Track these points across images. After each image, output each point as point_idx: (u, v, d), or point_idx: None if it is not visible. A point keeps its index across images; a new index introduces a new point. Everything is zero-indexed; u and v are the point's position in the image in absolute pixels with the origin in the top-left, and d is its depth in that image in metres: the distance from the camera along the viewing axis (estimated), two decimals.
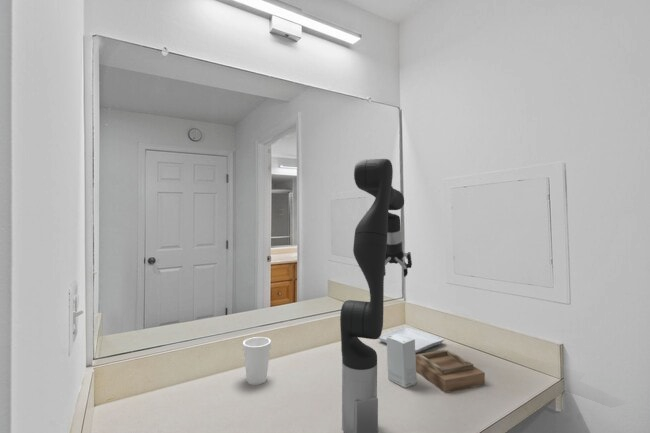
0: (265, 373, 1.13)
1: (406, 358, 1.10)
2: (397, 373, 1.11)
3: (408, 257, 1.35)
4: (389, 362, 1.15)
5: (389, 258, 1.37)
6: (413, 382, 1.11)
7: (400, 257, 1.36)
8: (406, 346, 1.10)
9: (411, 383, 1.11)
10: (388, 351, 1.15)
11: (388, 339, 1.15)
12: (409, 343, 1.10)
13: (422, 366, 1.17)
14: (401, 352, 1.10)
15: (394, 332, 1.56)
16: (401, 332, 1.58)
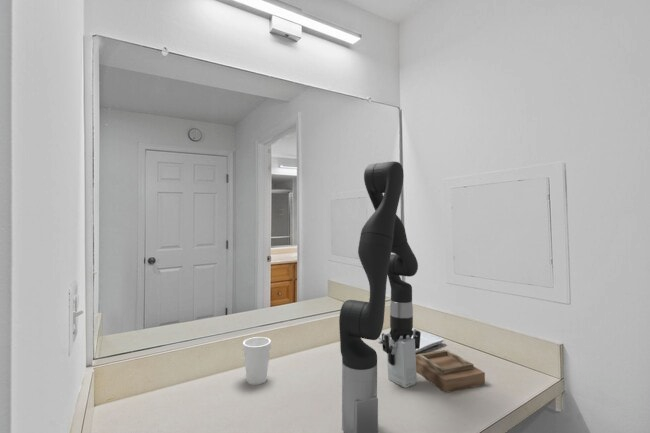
0: (265, 373, 1.13)
1: (406, 358, 1.10)
2: (397, 373, 1.11)
3: (418, 335, 1.15)
4: None
5: (401, 338, 1.12)
6: (413, 382, 1.11)
7: (410, 335, 1.14)
8: (406, 345, 1.10)
9: (411, 383, 1.11)
10: None
11: None
12: (409, 343, 1.10)
13: (422, 366, 1.17)
14: (401, 352, 1.10)
15: None
16: None
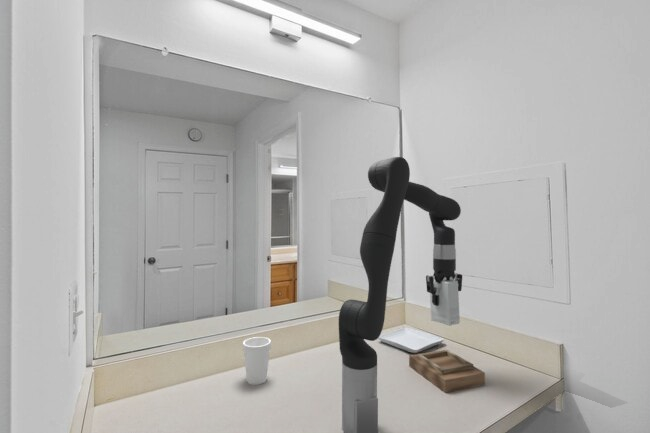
0: (265, 373, 1.13)
1: (451, 298, 1.15)
2: (441, 313, 1.16)
3: (460, 277, 1.19)
4: (432, 304, 1.19)
5: (444, 279, 1.16)
6: (457, 321, 1.16)
7: (453, 278, 1.19)
8: (450, 285, 1.15)
9: (455, 322, 1.15)
10: None
11: None
12: (453, 283, 1.15)
13: (422, 366, 1.17)
14: (446, 291, 1.15)
15: (394, 332, 1.56)
16: (401, 332, 1.58)
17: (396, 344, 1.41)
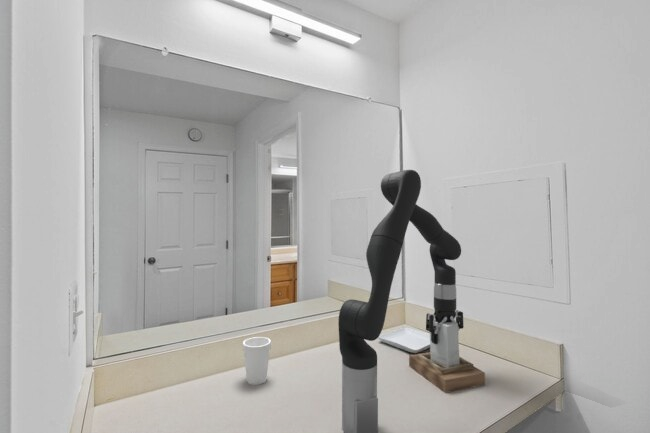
0: (265, 373, 1.13)
1: (450, 341, 1.14)
2: (441, 355, 1.16)
3: (461, 315, 1.19)
4: (432, 345, 1.19)
5: (445, 319, 1.16)
6: (456, 364, 1.16)
7: (453, 316, 1.19)
8: (450, 329, 1.14)
9: (454, 365, 1.15)
10: None
11: None
12: (452, 326, 1.15)
13: (422, 366, 1.17)
14: (445, 334, 1.14)
15: (394, 332, 1.56)
16: (401, 332, 1.58)
17: (396, 344, 1.41)
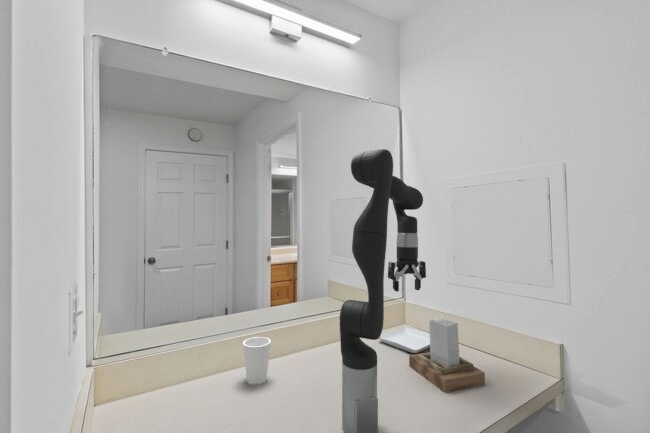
0: (265, 373, 1.13)
1: (450, 341, 1.14)
2: (441, 355, 1.16)
3: (423, 265, 1.22)
4: (432, 345, 1.19)
5: (406, 266, 1.19)
6: (456, 364, 1.16)
7: (415, 265, 1.21)
8: (449, 329, 1.14)
9: (454, 365, 1.15)
10: (431, 334, 1.20)
11: (431, 323, 1.20)
12: (452, 326, 1.15)
13: (422, 366, 1.17)
14: (445, 335, 1.14)
15: (394, 332, 1.56)
16: (401, 332, 1.58)
17: (396, 344, 1.41)
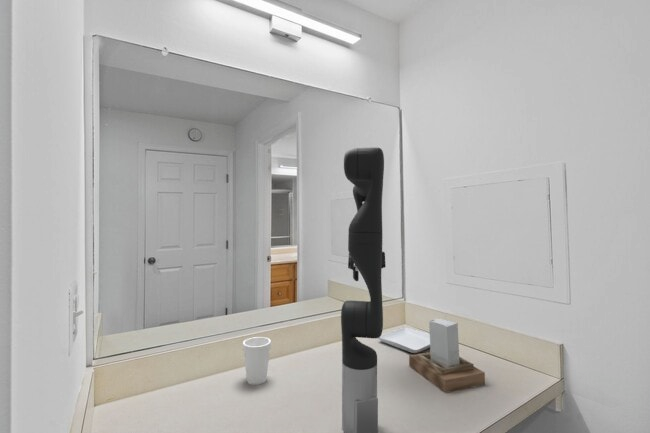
0: (265, 373, 1.13)
1: (450, 341, 1.14)
2: (441, 355, 1.16)
3: (383, 255, 1.26)
4: (432, 345, 1.19)
5: None
6: (456, 364, 1.16)
7: None
8: (449, 329, 1.14)
9: (454, 365, 1.15)
10: (431, 334, 1.20)
11: (431, 323, 1.20)
12: (452, 326, 1.15)
13: (422, 366, 1.17)
14: (445, 335, 1.14)
15: (394, 332, 1.56)
16: (401, 332, 1.58)
17: (396, 344, 1.41)
